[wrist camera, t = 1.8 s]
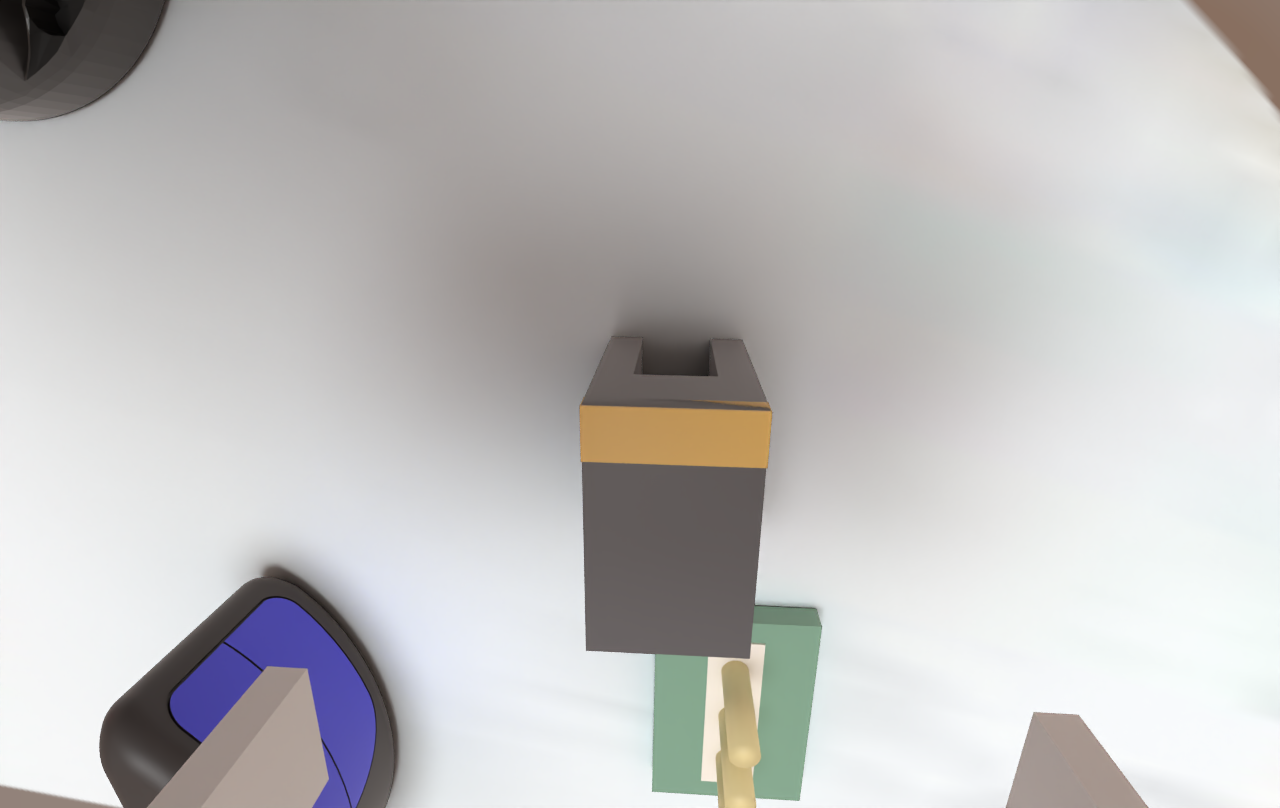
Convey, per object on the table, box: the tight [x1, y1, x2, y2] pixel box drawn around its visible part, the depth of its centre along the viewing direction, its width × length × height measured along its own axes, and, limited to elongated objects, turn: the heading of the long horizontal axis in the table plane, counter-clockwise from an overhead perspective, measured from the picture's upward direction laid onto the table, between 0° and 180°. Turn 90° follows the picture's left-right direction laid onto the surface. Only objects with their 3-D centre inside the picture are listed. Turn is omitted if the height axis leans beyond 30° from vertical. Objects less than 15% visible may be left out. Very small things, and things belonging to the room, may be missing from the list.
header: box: [652, 606, 822, 808], centre depth 27 cm, size 10×7×6 cm
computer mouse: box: [99, 577, 394, 808], centre depth 27 cm, size 16×5×9 cm, turn 7°
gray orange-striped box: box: [580, 337, 772, 659], centre depth 22 cm, size 8×5×8 cm, turn 179°
